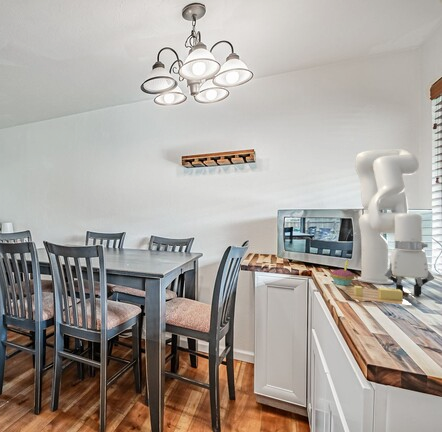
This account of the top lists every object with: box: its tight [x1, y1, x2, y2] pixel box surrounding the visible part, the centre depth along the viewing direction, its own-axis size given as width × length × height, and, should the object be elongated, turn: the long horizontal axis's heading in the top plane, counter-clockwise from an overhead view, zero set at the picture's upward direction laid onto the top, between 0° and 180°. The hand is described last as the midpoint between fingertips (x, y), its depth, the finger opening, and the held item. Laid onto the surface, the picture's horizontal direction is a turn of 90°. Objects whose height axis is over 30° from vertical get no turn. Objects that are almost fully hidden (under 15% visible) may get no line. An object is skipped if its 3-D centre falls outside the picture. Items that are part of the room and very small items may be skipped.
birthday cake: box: [329, 258, 355, 286], centre depth 137 cm, size 9×8×12 cm
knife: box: [403, 286, 419, 305], centre depth 115 cm, size 20×2×3 cm, turn 151°
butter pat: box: [353, 285, 364, 296], centre depth 118 cm, size 4×2×3 cm, turn 151°
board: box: [343, 286, 412, 306], centre depth 118 cm, size 22×16×1 cm
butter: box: [377, 287, 404, 300], centre depth 113 cm, size 4×6×3 cm, turn 60°
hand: (408, 295), depth 117 cm, fingers open, 4 cm apart
